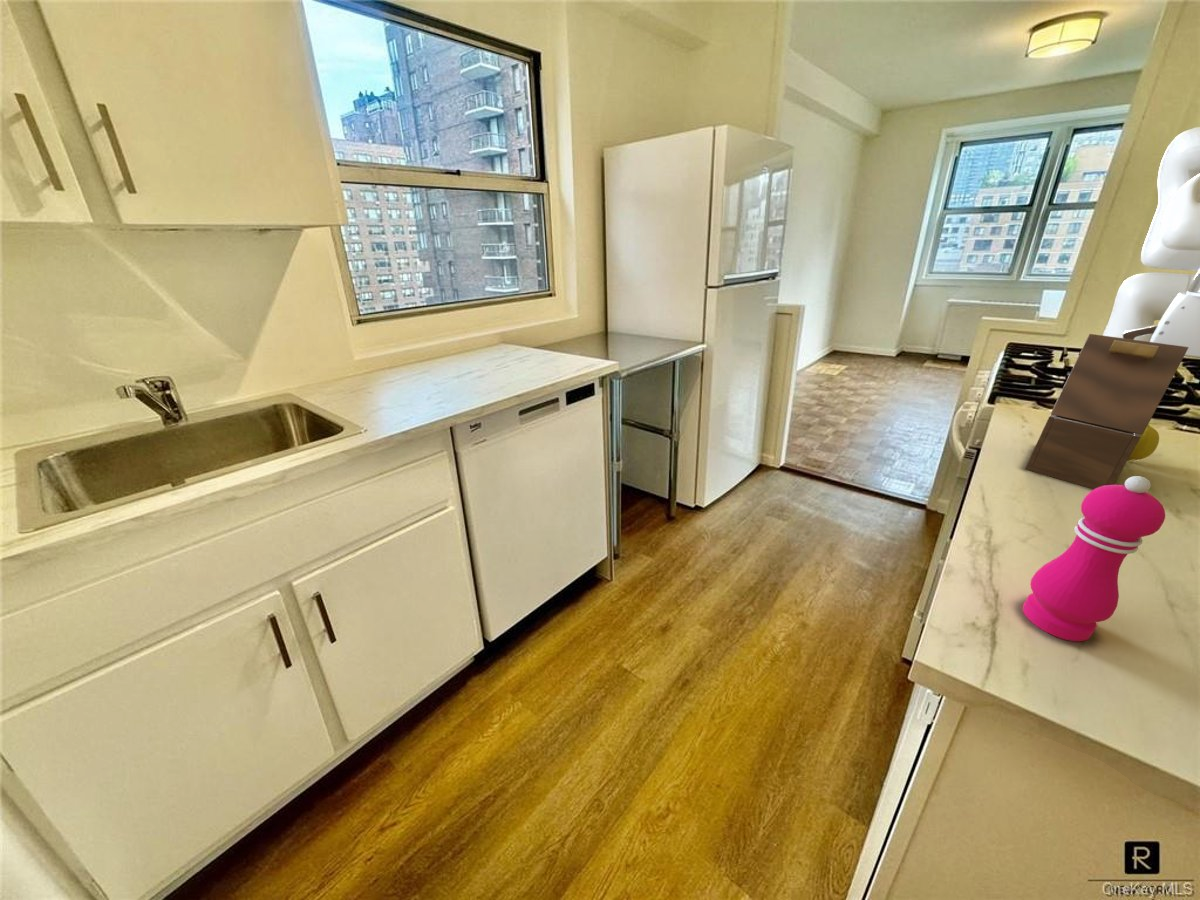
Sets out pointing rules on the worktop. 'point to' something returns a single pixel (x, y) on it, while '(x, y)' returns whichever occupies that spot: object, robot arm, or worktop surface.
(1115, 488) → the pepper mill
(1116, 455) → the chest
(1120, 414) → the lid
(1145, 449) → the lemon
